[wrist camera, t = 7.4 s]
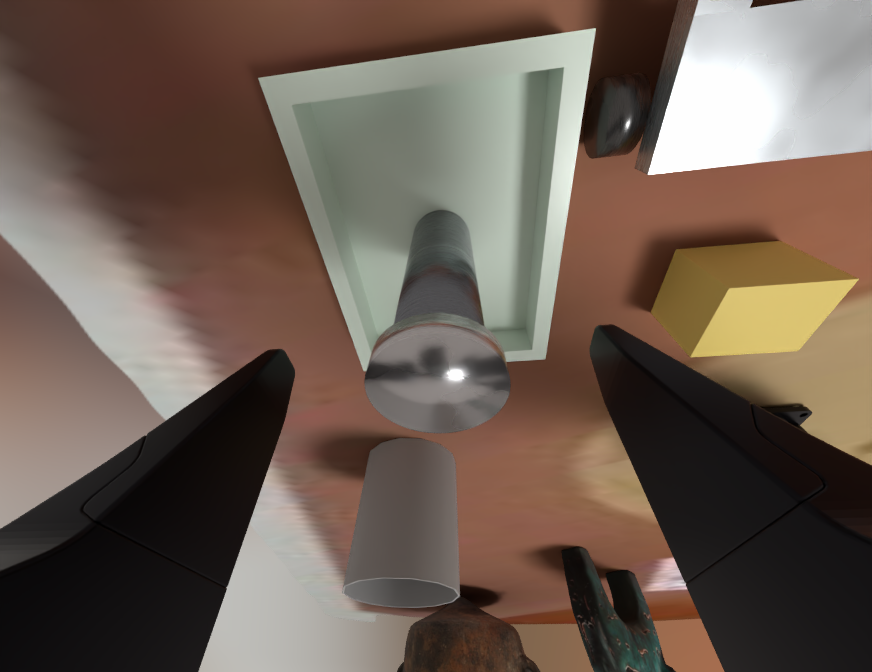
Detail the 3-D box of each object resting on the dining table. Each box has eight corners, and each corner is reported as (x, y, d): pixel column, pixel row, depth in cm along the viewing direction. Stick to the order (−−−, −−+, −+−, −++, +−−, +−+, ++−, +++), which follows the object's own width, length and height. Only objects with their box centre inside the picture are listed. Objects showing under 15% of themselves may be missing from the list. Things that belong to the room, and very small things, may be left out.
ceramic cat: (645, 574, 51) (732, 788, 36) (607, 581, 54) (672, 782, 39) (587, 541, 43) (669, 806, 27) (545, 551, 45) (597, 796, 30)
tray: (569, 36, 11) (595, 28, 9) (535, 332, 20) (545, 359, 18) (287, 78, 12) (258, 77, 10) (371, 343, 21) (363, 371, 19)
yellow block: (778, 239, 16) (858, 278, 13) (738, 305, 18) (797, 351, 15) (675, 248, 16) (729, 288, 13) (649, 311, 19) (690, 357, 16)
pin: (477, 197, 14) (513, 328, 7) (479, 269, 16) (508, 430, 9) (398, 205, 15) (346, 340, 7) (411, 275, 17) (382, 435, 9)
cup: (356, 470, 31) (328, 598, 24) (386, 428, 27) (362, 570, 19) (432, 489, 34) (428, 612, 26) (471, 453, 29) (482, 589, 21)
